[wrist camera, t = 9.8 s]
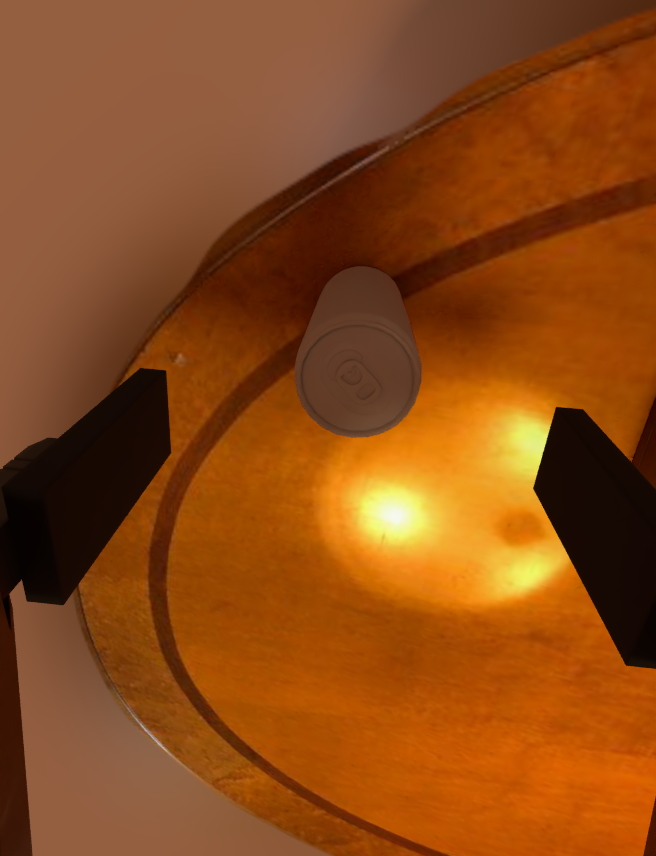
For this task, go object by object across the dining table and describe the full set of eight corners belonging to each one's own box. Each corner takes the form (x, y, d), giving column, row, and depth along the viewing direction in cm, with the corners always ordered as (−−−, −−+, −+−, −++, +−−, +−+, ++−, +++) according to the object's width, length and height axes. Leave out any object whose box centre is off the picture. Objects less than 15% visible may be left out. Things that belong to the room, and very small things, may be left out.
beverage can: (367, 245, 29) (367, 288, 18) (421, 313, 30) (450, 391, 19) (301, 302, 30) (264, 373, 20) (355, 365, 32) (348, 463, 21)
